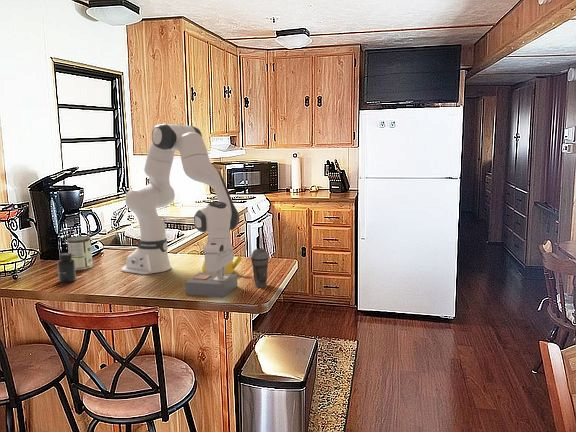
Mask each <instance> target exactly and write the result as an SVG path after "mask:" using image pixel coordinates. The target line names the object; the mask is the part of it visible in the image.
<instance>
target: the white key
mask: <svg viewBox="0 0 576 432" xmlns="http://www.w3.org/2000/svg"><path fill="white" fill-rule="evenodd" d="M228 279H229V277H227V276H224V277H223V278H222V279H218V277H215V278H214V279H213V281H226V280H228Z"/></svg>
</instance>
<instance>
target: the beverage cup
mask: <svg viewBox="0 0 576 432" xmlns="http://www.w3.org/2000/svg"><path fill="white" fill-rule="evenodd" d="M263 238H264V237H261V241H260V247H257V248H255V249H254V250H253V251H252V253H251V256H250V259H251V264H252V271H253V280H254V285H255V287H256V288H265V287H267V280H268V265H269V260H270V259H269V258H270V257H269V253H268V252H267V250H265V248H263V240H264V239H263Z"/></svg>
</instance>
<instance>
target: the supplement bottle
mask: <svg viewBox="0 0 576 432" xmlns="http://www.w3.org/2000/svg"><path fill="white" fill-rule="evenodd" d="M71 258H72V254H71V253H68V252H62V253H60V254H59V260H58V262H57V272H58V273H57V274H58V275H57V276H58V282H59V283H61V284H69V283H74V282H75V281H76V279H77V275H76V270H75V261H74V260H73V259H71Z"/></svg>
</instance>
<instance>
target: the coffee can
mask: <svg viewBox="0 0 576 432" xmlns="http://www.w3.org/2000/svg"><path fill="white" fill-rule="evenodd" d="M66 242H67V250H68V251H67V253H71V254H72V258H71V259H73V260H74V261H75V271H80V270H81V271H82V270H87V269H90V268H93V266H94V265H93V255H92V244H91V236H88V235H79V236H72V237H68V238H66Z"/></svg>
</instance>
